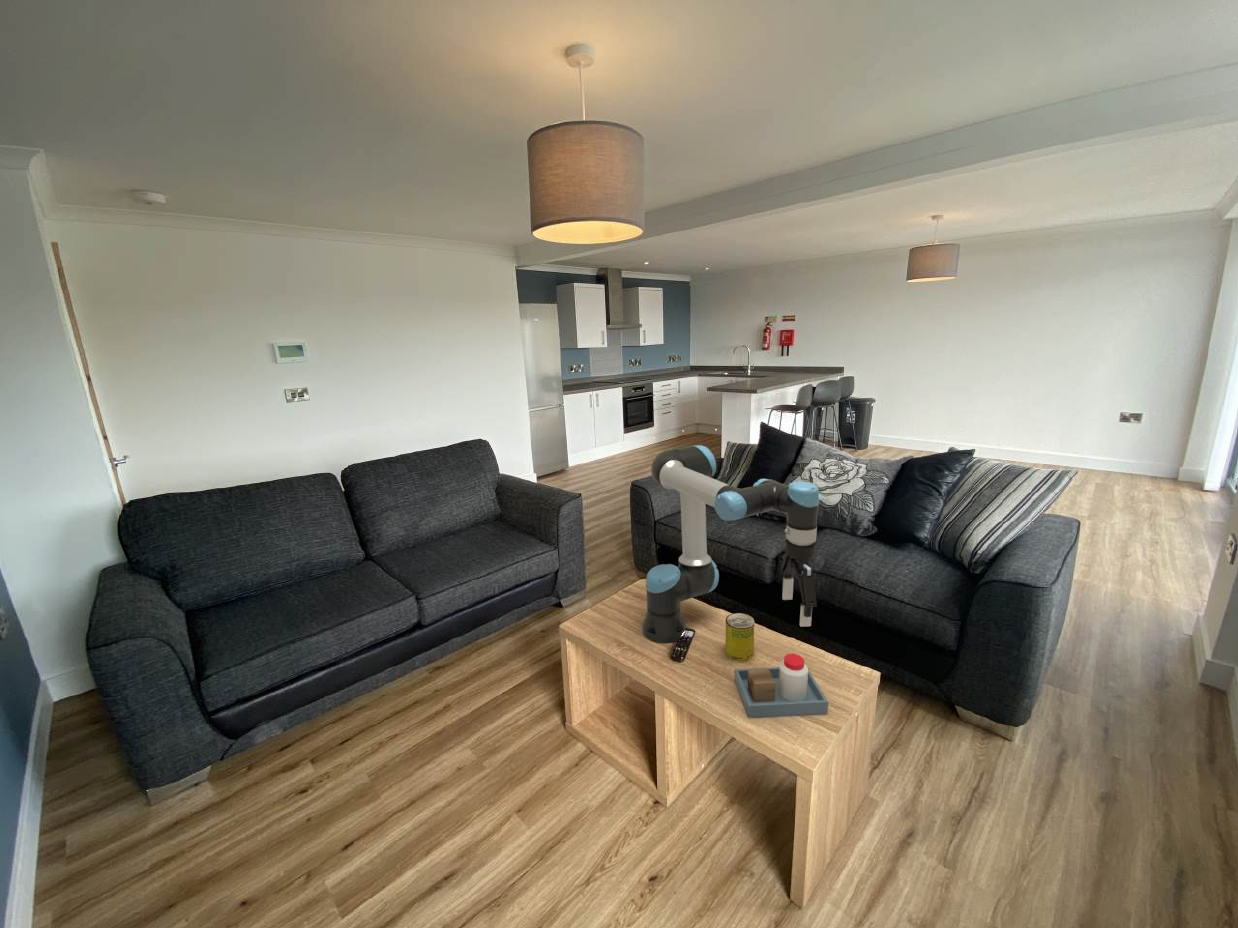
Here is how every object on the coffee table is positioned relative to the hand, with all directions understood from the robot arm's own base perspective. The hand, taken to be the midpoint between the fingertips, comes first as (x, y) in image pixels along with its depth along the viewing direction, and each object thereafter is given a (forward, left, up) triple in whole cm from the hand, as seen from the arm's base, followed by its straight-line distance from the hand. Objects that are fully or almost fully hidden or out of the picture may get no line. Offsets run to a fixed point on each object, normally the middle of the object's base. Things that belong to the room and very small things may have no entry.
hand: (795, 611), depth 140 cm
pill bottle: (0, 0, -26) cm, 26 cm away
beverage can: (-21, -10, -27) cm, 35 cm away
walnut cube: (0, -9, -26) cm, 27 cm away
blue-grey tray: (0, -4, -27) cm, 27 cm away
